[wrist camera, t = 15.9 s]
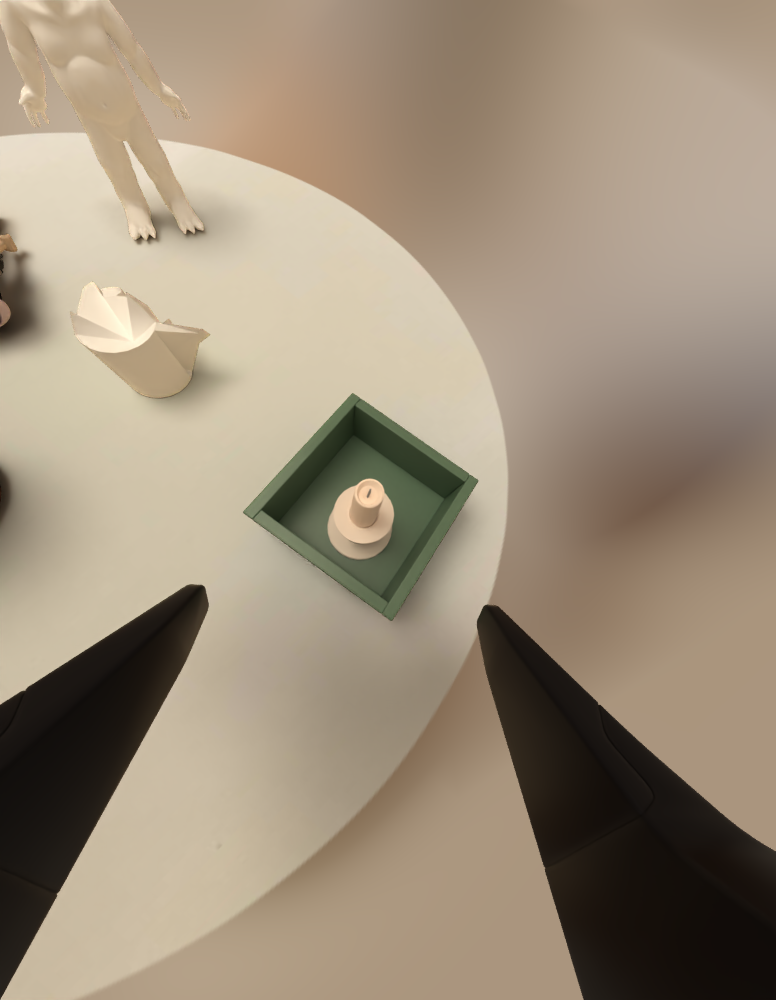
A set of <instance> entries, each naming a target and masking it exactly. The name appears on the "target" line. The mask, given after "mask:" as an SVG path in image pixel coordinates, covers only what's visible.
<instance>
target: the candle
mask: <svg viewBox="0 0 776 1000" xmlns="http://www.w3.org/2000/svg"><path fill="white" fill-rule="evenodd" d="M393 519H394V510H393V506H392V503H391V500H390V499H389V498H388V496H387V495H386V494H385V493H384V488H383V486H382V484H381V483H380V482H378V481H377V480H375V479H365V480H362V481H361V482H360V483H359V484H358V485H356V486H353V487H350V488H348V489H347V490H345V491H344V492H343V493H342V494H341V495H340V496H339V497H338V499H337V501H336V503H335V506H334V509H333V511H332V513H331V515H330V516H329V520H328V525H327V526H328V536H329V539H330V542H331V543H332V545H333V546H334V548H335V549H336V550H337V551H338V552H339V553H340V554H341V555H343V556H345V557H347V558H349V559H355V560H365V559H369V558H372V557H374V556H376V555H377V554H379V553H380V552H381V551H383V549H384V548H385V547H386V546H387V544H388V542H389V540H390V538H391V533H392V524H393Z"/></svg>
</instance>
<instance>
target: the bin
mask: <svg viewBox="0 0 776 1000" xmlns="http://www.w3.org/2000/svg"><path fill="white" fill-rule="evenodd" d="M365 479H375V480H377V481H378V482H380V483H381V484H382V486H383V488H384V493H385V494H386V495H387V496H388V498H389V499H390V500H391V503H392V506H393V510H394V519H393V524H392V533H391V538H390V540H389V542H388V544H387V546H386V547H385V548H384V549H383V551H381V552H380V553H379V554H377V555H376V556H374V557H372V558H369V559H365V560H355V559H349V558H347V557H345V556H343V555H341V554H340V553H339V552H338V551H337V550H336V549H335V548H334V546H333V545H332V543H331V542H330V539H329V536H328V526H327V525H328V520H329V516H330V515H331V513H332V511H333V509H334V506H335V503H336V501H337V499H338V497H339V496H340V495H341V494H342V493H343V492H344V491H345V490H347V489H348V488H350V487H353V486H356V485H358V484H359V483H360V482H361V481H362V480H365ZM477 483H478V480H477V479H476V478H474V477H473V476H471V475H469V473H467V472H466V471H464V470H463V469H461V468H460V467H458V466H457V465H456V464H454V463H453V462H451V461H450V460H448V459H447V458H446V457H444V456H443V455H441V454H440V453H438V452H437V451H435V450H434V449H433V448H431V447H430V446H428V445H427V444H425V443H424V442H423V441H421V440H420V439H418V438H417V437H415V436H414V435H412V434H411V433H410V432H408V431H407V430H405V429H404V428H402V427H401V426H400V425H398V424H397V423H395V422H394V421H392V420H391V419H389V418H388V417H387V416H385V415H384V414H382V413H381V412H379V411H378V410H377V409H375V408H374V407H372V406H371V405H369V404H368V403H366V402H365V401H364V400H362V399H360V398H359V397H358V396H356V395H355V394H353V393H352V394H351V395H350V396H349V397H348V398H347V400H346V401H345V402H344V403H343V404H342V405H341V406H340V407H339V408H338V409H337V410H336V412H335V413H334V414H333V415H332V416H331V417H330V418H329V419H328V420H327V421H326V422H325V423H324V425H323V426H322V427H321V428H320V429H319V430H318V431H317V432H316V433H315V434H314V435H313V437H312V438H311V439H310V440H309V441H308V442H307V443H306V444H305V445H304V446H303V447H302V448H301V450H300V451H299V452H298V453H297V454H296V455H295V456H294V457H293V458H292V459H291V460H290V462H289V463H288V464H287V465H286V466H285V467H284V468H283V469H282V470H281V471H280V472H279V473H278V475H277V476H276V477H275V478H274V479H273V480H272V481H271V482H270V483H269V484H268V485H267V487H266V488H265V489H264V490H263V491H262V492H261V493H260V494H259V495H258V496H257V497H256V498H255V500H254V501H253V502H252V503H251V504H250V505H249V506H248V507H247V508H246V509H245V510H244V512H243V513H244V514H245V515H247V516H248V517H249V518H251V519H252V520H254V521H255V522H256V523H258V524H259V525H260V526H262V527H263V528H265V529H266V530H267V531H269V532H270V533H271V534H273V535H274V536H275V537H277V538H278V539H280V540H281V541H282V542H284V543H285V544H286V545H288V546H289V547H291V548H292V549H293V550H295V551H296V552H297V553H299V554H300V555H301V556H303V557H304V558H306V559H307V560H308V561H310V562H311V563H312V564H314V565H315V566H317V567H318V568H319V569H321V570H322V571H323V572H325V573H326V574H327V575H329V576H330V577H332V578H333V579H334V580H336V581H337V582H338V583H340V584H341V585H343V586H344V587H345V588H347V589H348V590H349V591H351V592H352V593H353V594H355V595H356V596H358V597H359V598H360V599H362V600H363V601H364V602H366V603H367V604H369V605H370V606H371V607H373V608H374V609H375V610H377V611H378V612H379V613H381V614H382V615H384V616H385V617H386V618H388V619H389V620H390V621H392V620H393V619H394V617H395V616H396V614H397V612H398V611H399V609H400V607H401V606H402V604H403V603H404V601H405V599H406V598H407V596H408V595H409V593H410V591H411V590H412V588H413V586H414V585H415V583H416V582H417V580H418V578H419V577H420V575H421V573H422V572H423V570H424V569H425V567H426V565H427V564H428V562H429V560H430V559H431V557H432V556H433V554H434V552H435V551H436V549H437V547H438V546H439V544H440V543H441V541H442V539H443V538H444V536H445V535H446V533H447V531H448V530H449V528H450V526H451V525H452V523H453V522H454V520H455V518H456V517H457V515H458V513H459V512H460V510H461V509H462V507H463V505H464V504H465V502H466V500H467V499H468V497H469V496H470V494H471V492H472V491H473V489H474V487H475V486H476V484H477Z"/></svg>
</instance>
